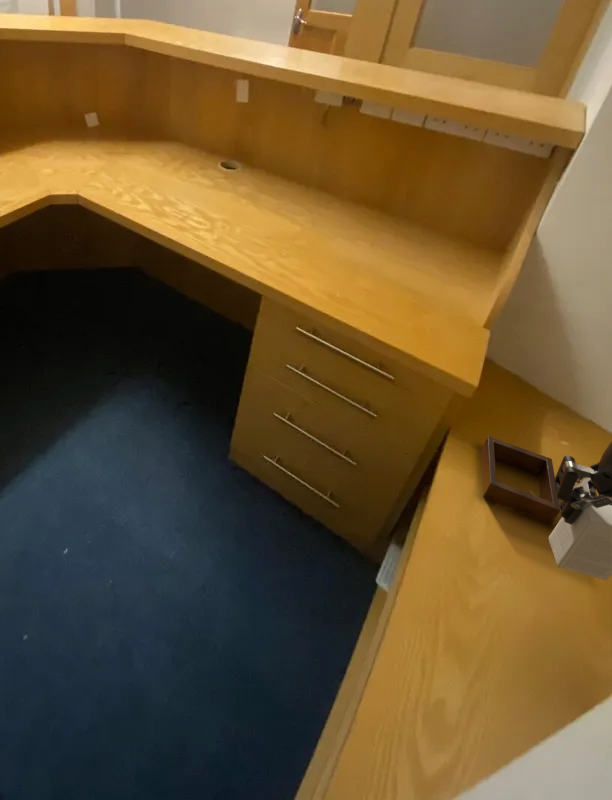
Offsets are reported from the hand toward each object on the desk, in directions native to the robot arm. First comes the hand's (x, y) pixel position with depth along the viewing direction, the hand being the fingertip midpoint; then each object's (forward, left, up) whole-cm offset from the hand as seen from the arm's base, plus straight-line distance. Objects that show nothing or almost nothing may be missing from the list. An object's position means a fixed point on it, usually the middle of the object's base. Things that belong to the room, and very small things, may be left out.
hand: (597, 529), depth 68 cm
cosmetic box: (0, 0, -8) cm, 8 cm away
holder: (+2, -20, -23) cm, 31 cm away
